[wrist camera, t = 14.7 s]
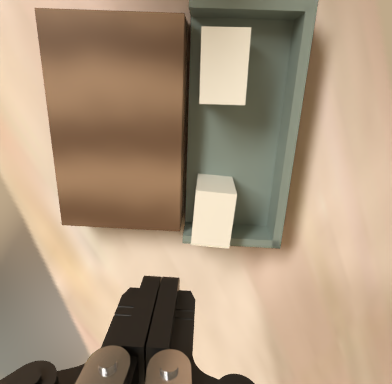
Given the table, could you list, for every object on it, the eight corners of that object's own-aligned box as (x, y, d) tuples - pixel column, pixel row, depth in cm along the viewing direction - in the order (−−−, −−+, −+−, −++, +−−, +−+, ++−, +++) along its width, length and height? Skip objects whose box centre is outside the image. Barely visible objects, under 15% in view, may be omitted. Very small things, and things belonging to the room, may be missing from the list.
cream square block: (195, 190, 21) (237, 194, 21) (197, 173, 25) (232, 176, 25) (190, 244, 23) (229, 248, 23) (193, 220, 27) (225, 223, 27)
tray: (191, 7, 22) (189, -6, 19) (303, 11, 22) (318, -1, 19) (185, 226, 28) (182, 243, 25) (272, 230, 28) (280, 248, 25)
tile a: (201, 26, 18) (251, 27, 18) (202, 38, 22) (243, 39, 22) (199, 103, 19) (245, 105, 19) (200, 101, 23) (238, 102, 23)
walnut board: (56, 18, 22) (34, 7, 20) (187, 22, 22) (184, 13, 19) (77, 211, 28) (62, 225, 25) (182, 216, 27) (179, 231, 25)
